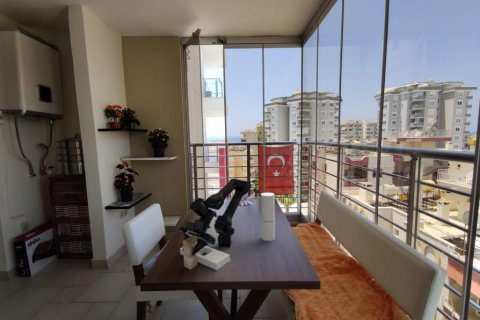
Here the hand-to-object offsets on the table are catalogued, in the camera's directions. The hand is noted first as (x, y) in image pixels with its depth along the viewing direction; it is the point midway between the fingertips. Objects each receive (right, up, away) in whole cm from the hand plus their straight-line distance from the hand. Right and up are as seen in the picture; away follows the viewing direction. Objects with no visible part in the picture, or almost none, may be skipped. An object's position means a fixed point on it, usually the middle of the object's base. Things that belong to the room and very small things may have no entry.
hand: (187, 253), depth 102 cm
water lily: (+27, +4, +90) cm, 94 cm away
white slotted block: (+6, -6, +9) cm, 12 cm away
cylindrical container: (+39, -3, +27) cm, 47 cm away
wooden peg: (+1, -6, +2) cm, 7 cm away
